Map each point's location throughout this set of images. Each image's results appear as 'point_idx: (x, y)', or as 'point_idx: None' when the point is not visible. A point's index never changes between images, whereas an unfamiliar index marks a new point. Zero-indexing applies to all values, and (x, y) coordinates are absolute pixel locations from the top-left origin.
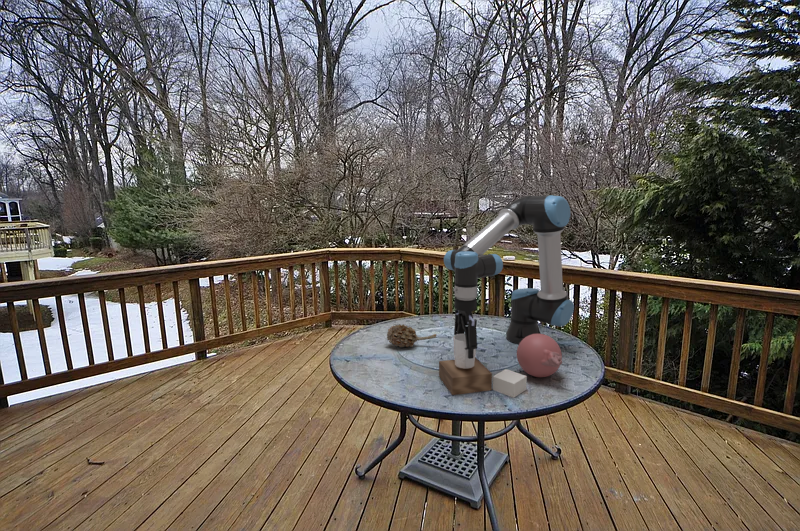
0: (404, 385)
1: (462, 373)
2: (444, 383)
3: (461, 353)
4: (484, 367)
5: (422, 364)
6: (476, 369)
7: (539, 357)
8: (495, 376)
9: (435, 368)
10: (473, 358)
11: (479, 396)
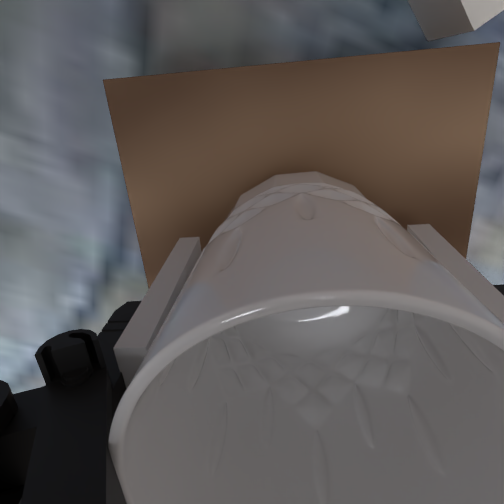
0: None
1: None
2: None
3: (412, 396)
4: (350, 71)
5: (32, 349)
6: (370, 163)
7: None
8: (485, 4)
9: (82, 301)
10: (464, 260)
11: None
